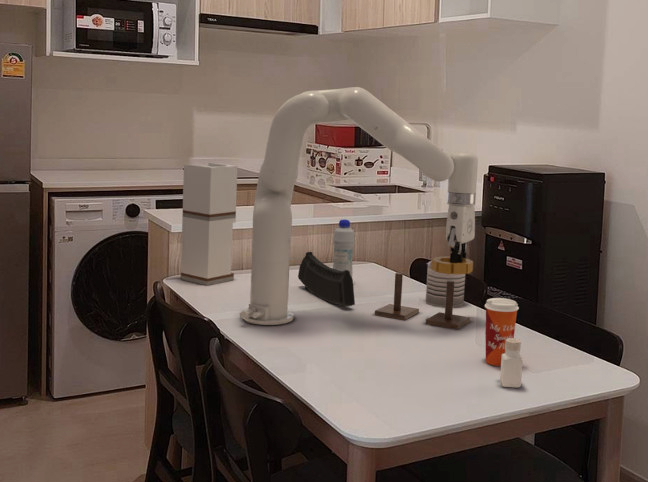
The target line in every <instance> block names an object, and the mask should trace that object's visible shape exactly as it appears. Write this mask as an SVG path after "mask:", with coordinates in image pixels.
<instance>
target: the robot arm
mask: <svg viewBox="0 0 648 482" xmlns="http://www.w3.org/2000/svg"><path fill="white" fill-rule="evenodd" d="M348 120H350V121H351V122H353V123H354V124H355V125H356V126H358V127H359V128H361V130H363V131H364V132H366V134H368V135H370V136H371V137H372V138H373V139H374V140H376V142H378V143H379V144H381V145H382V146H383V147H385V148H386V149H388V150H390V151H391V152H394V153H395V154H397V155H399V156H401V157H402V158H404V159H405V160H407V161H408V162H409V163H410V164H411V165H413V166H415V168H417V169H418V170H419V171H420V173H421V174H422V175H423V176H424V177H426V178H428V179H430V180H432V181H435V182H445V181H447V193H446V194H447V195H446V196H447V197H446V205H448V207H447V208H448V209H447V214H446V216H447V217H446V227H445V239H446V241H447V242H448V244H447V247H448V248H449V252H450V263H462V258H466V259H467V251H468V244H469V242H471V241H473V240H474V239H475V235H476V211H475V206H476V199H477V181H478V163H479V159H478V156H477V154H475V153H474V152H468V151H467V152H466V151H465V152H463V151H455V152H449V151H445V150H443V149H442V148H440V147H439V146H438V145H437V144H435V143H434V142H433V141H432V140H430V139H429V138H427V136H425V135H424V134H423V133H422V132H421V131H419V130H417V129H416V128H415V127H414V126H413V125H412V124H411V123H409V122H407V121H406V120H405V119H404V118H403V117H402V116H400V115H399V114H398V113H396V112H395V111H393V109H391V108H390V107H388V105H386V104H385V103H384V102H382V101H381V100H380V99H379V98H377V97H375V96H374V94H372V93H371V92H370V91H368V90H367V89H365V88H363V87H361V86H352V87H351V86H350V87H343V88H334V89H321V90H320V89H319V90H307V91H303V92H302V93H299V94H296V95H294V96H292V97H290V98H289V99H287V100H286V101H285V102H284V103H283V104H282V105H281V106H280V107H279V108H278V110H277V111H276V112H275V114H274V116H273V118H272V121H271V124H270V128H269V133H268V137H267V143H266V148H265V154H264V158H263V160H262V161H261V164H260V167H259V173H258V177H257V178H258V179H257V185H256V192H255V197H254V204H253V211H252V237H251V239H252V241H251V270H250V275H251V276H250V295H249V296H250V300H249V303H248V308H247V309H245V310H242V311H241V312H239V317H240V318H241V319H243V320H244V321H245V322H247V323H250V324H252V325H253V324H254V325H260V326H276V325H277V326H278V325H284V324H288V323H291V322H292V321H293V320H294V313H293V312H291V311H290V310H288V308H289V287H290V286H289V285H290V266H291V265H290V263H291V261H290V260H291V258H290V257H291V239H292V237H291V236H292V227H293V213H292V212H293V211H292V208H291V206H292V202H293V195H294V190H295V183H296V182H297V180H298V176H299V165H300V163H299V162H300V156H301V149H302V145H303V141H304V137H305V134H306V131H307V130H308V128H310V127H311V126H313V125H317V124H320V123H328V122H339V121H348Z"/></svg>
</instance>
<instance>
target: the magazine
mask: <svg viewBox="0 0 648 482" xmlns="http://www.w3.org/2000/svg"><path fill="white" fill-rule="evenodd" d="M297 278H298V280H299V281H300V282H301V283H302V285H303V286H305V289H307V290H309V291H310V292H312V294H313V295H315V296H316V297H318V298H319V299H321V300H323V301H325V302H328V303H331V304H335V305H341V306H343V307H352V306H355V304H356V301H355V289H354V281H353V280H354V279H353V276H352V277H351V275H350V271H348V270H345V271H339V270H336V269H333V267H330V266H328V265H326V264H325V263H323V262H322V261H320V260H319V259H318V258H317V257H316V256H315V255H314V254H313V252H312V251H307V252H305V256H304V257H303V258H302V260H301V263H300V265H299V269H298V274H297Z"/></svg>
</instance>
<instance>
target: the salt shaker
mask: <svg viewBox="0 0 648 482" xmlns="http://www.w3.org/2000/svg"><path fill="white" fill-rule="evenodd" d="M521 345H522V341H521V340H520V339H518V338H515V337H514V338H508V339H506V341H505V353H504V354H502V358H501V366H500V373H499V380H500V383H501V386H502V387H504V388H520V387H521V386H522V378H523V377H522V376H523V375H522V374H523V361H524V359H523V356H522V355H521Z"/></svg>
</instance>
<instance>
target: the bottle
mask: <svg viewBox="0 0 648 482" xmlns="http://www.w3.org/2000/svg"><path fill="white" fill-rule="evenodd" d="M333 232H334V233H333V237H332V241H333V260H332V261H333V263H332V268H333V269H336V270H339V271H345V270H348V271H350V275H351V277H352V278H353V259H354V247H355V241H356V239H355V230H354V229H353V228H351V222H350V220H348V219H346V218H345V219H340V220H339V222H338V227H336V228H335V229H334V231H333Z"/></svg>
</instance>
